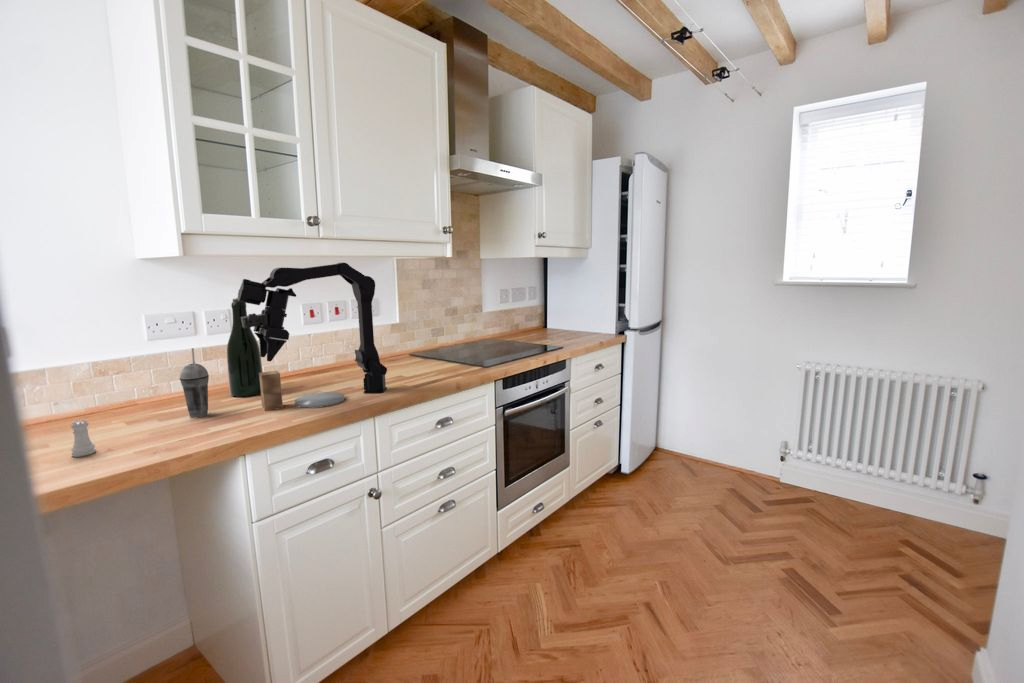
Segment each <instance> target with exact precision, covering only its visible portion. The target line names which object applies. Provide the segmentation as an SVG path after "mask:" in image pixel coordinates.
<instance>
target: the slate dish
mask: <svg viewBox="0 0 1024 683" xmlns="http://www.w3.org/2000/svg"><path fill="white" fill-rule="evenodd" d="M344 399H346V397H345V394H344V393H343V392H338V391H321V392H314V393H307V394H303V395H300V396H298V397H296V398H295V399H294V405H295V406H296V407H297V406H300V407H299V408H302V407H319V408H321V407H320V406H326V407H329V406H328V405H331V406H334V404H335V405H338V404H340V402H341V403H343V402H344V401H345V400H344ZM343 400H344V401H343ZM342 401H343V402H342ZM337 403H338V404H337Z"/></svg>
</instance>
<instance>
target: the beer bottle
mask: <svg viewBox="0 0 1024 683" xmlns="http://www.w3.org/2000/svg"><path fill="white" fill-rule="evenodd" d="M230 307H231V310H232V326H231V331H230V335H229V338H228V342H227V344H226V360H227V363H226V364H227V374H228V385H229V386H228V387H229V394H230V395H231V396H232V397H234V396H236V397H235V398H245V397H244V396H247V397H252V395H253V396H256V394H257V395H261V388H260V378H259V373H261V372H264V371H263V364H262V357H261V356H260V344H259V343H258V342H259V341H258V340H257V338H256V335H255V333H254V331H253V330H252V329H251V328H252V327H251V328H243V327H242V322H241V317H244V316H248V312H247V303H244V302H239V301H238V297H236V298H232V302H231V305H230Z"/></svg>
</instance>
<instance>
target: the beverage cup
mask: <svg viewBox="0 0 1024 683" xmlns="http://www.w3.org/2000/svg"><path fill="white" fill-rule="evenodd" d="M191 360H192V363H190V364H187V365H186V366H185V365H184V367H183V368H182V369H181V371H180V374H179V380H180V383H181V387H182V390H183V393H184V398H185V403H186V407H187V411H188V415H189V418H191V417H198V418H201V417H200V416H203V417H205V416H204V415H206V416H208V415H207V414H209V413H208V412H209V385H208V384H209V381H210V380H209V379H210V378H209V377H210V375H209V372H208V370H207V368H206V367H205V366H204V365H202V364H200V363H195V350H194V348H191Z"/></svg>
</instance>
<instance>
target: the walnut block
mask: <svg viewBox="0 0 1024 683" xmlns="http://www.w3.org/2000/svg"><path fill="white" fill-rule="evenodd" d="M259 378H260V388H261V393H260V396H261V397H260V398H261V406H262V407H263V408H264V409H263V408H262V407H261V408H262V409H263V410H264V411H265V410H268V411H271V410H270V409H274V410H277V409H276V408H281V409H284V405H283V404H284V403H283V393H282V382H281V373H280V372H279V371H278V370H272V371H263V372H261V373H259Z"/></svg>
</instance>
